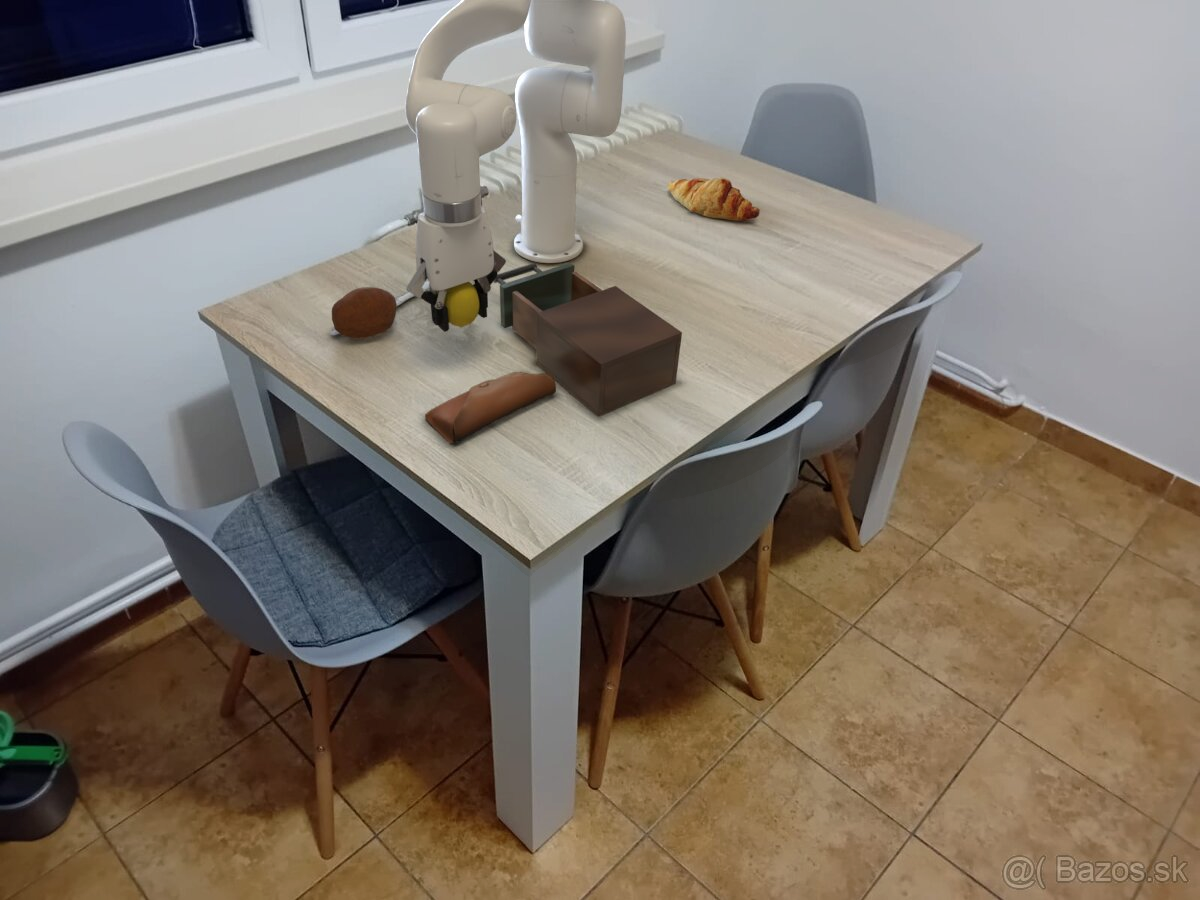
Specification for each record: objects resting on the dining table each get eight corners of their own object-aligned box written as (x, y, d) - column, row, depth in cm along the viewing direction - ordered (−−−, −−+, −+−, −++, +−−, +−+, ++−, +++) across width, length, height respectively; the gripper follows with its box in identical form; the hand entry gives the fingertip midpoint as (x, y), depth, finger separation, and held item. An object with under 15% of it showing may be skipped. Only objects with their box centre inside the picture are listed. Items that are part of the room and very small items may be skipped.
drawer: (478, 307, 148) (477, 267, 143) (546, 284, 155) (546, 245, 150) (552, 369, 136) (553, 328, 131) (623, 342, 142) (626, 301, 138)
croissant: (658, 213, 187) (650, 186, 180) (683, 178, 190) (676, 150, 183) (748, 243, 178) (744, 216, 171) (773, 206, 180) (770, 177, 173)
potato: (321, 331, 141) (315, 291, 136) (377, 306, 148) (373, 266, 142) (354, 357, 138) (349, 316, 132) (411, 330, 144) (408, 289, 139)
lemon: (473, 340, 129) (470, 291, 124) (436, 334, 130) (432, 285, 125) (485, 319, 133) (482, 271, 128) (449, 313, 134) (445, 266, 129)
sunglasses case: (519, 368, 136) (534, 346, 131) (546, 406, 135) (561, 385, 130) (419, 416, 126) (431, 394, 121) (447, 457, 125) (460, 437, 120)
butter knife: (464, 274, 156) (452, 267, 158) (337, 338, 140) (325, 330, 142) (464, 277, 157) (452, 270, 158) (338, 341, 141) (325, 333, 142)
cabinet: (536, 364, 138) (536, 313, 132) (612, 335, 145) (615, 285, 139) (598, 417, 129) (601, 364, 123) (675, 383, 136) (682, 332, 130)
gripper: (492, 177, 125) (497, 291, 137) (379, 208, 117) (394, 326, 129) (523, 198, 121) (525, 313, 133) (407, 232, 113) (420, 352, 125)
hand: (460, 319), depth 131 cm, fingers closed on lemon, 5 cm apart
